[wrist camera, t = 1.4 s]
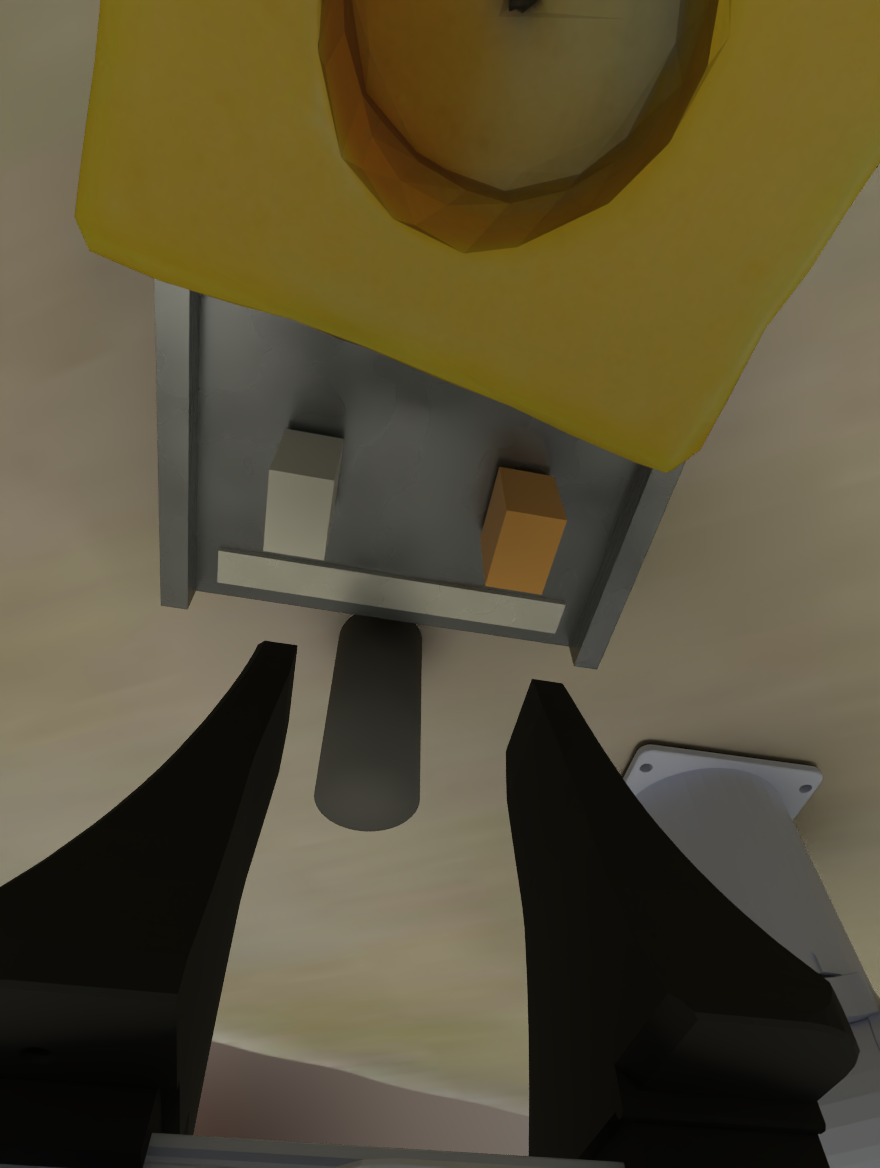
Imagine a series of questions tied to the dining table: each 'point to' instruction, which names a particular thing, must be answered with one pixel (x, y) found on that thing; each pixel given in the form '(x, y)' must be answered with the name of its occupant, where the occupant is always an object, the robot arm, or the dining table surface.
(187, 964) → the robot arm
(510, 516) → the tan rectangular prism
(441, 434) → the grey tray
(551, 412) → the candle
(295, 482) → the upright cream block
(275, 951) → the dining table surface
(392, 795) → the post
